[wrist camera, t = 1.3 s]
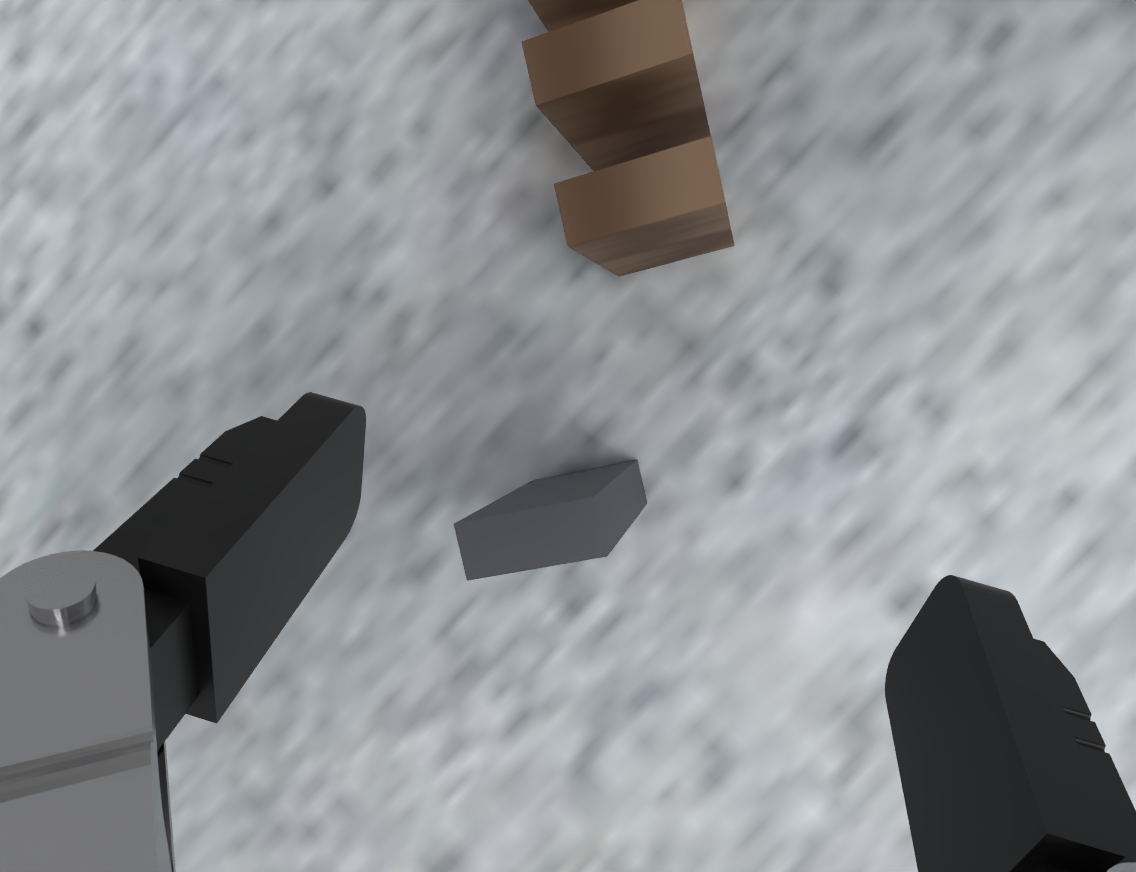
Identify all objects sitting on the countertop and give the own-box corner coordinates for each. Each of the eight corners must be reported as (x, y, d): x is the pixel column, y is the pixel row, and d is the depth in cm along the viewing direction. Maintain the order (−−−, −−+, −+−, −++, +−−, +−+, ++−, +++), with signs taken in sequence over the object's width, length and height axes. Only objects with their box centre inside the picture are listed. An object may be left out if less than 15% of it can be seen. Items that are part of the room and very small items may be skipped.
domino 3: (700, 91, 32) (678, -15, 23) (711, 139, 32) (692, 53, 23) (586, 128, 34) (521, 41, 24) (596, 174, 34) (536, 105, 24)
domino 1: (637, 459, 34) (593, 496, 25) (647, 503, 35) (607, 556, 25) (531, 480, 36) (453, 523, 27) (541, 523, 36) (467, 580, 27)
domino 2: (724, 198, 32) (710, 136, 23) (734, 245, 33) (725, 201, 23) (609, 230, 34) (554, 183, 25) (619, 276, 34) (567, 246, 25)
